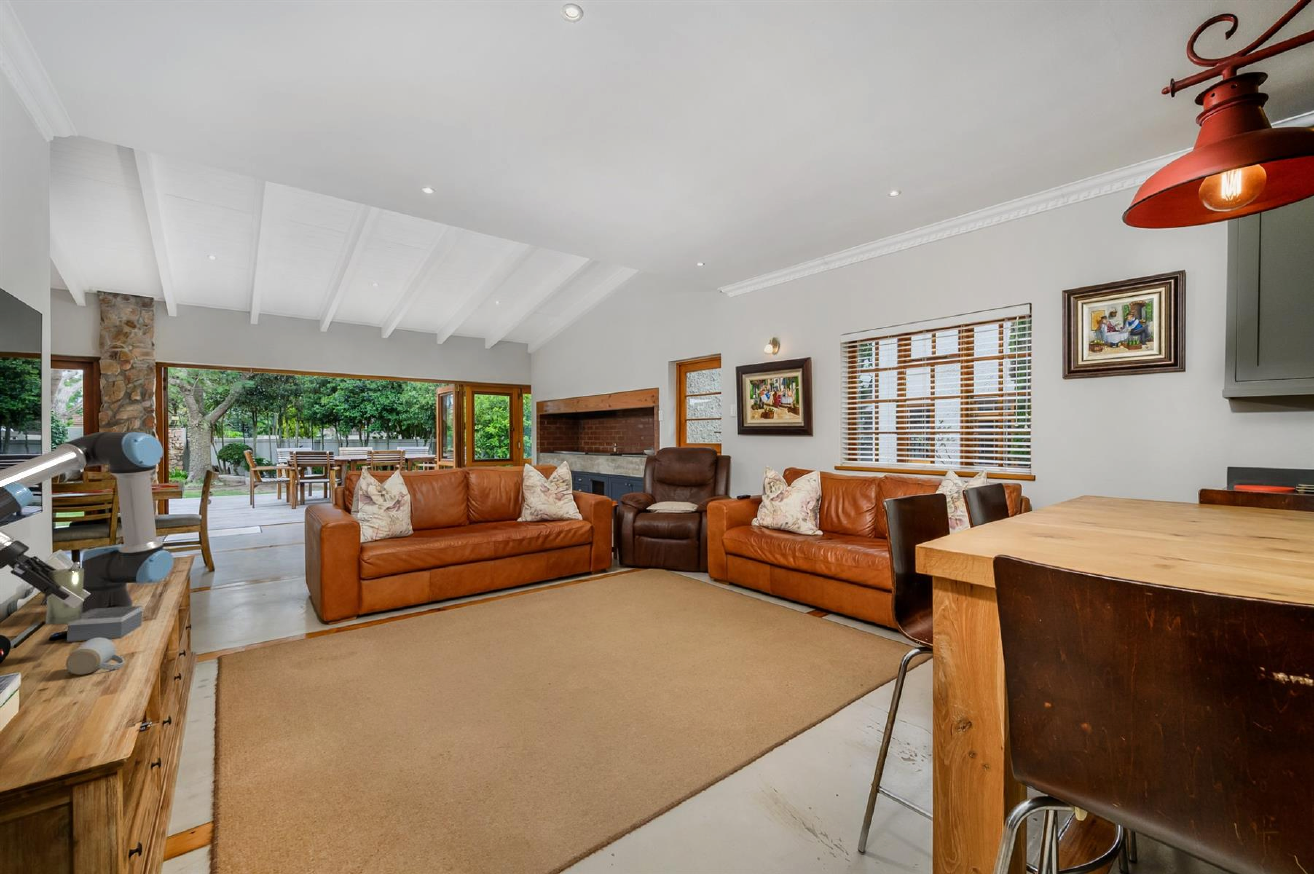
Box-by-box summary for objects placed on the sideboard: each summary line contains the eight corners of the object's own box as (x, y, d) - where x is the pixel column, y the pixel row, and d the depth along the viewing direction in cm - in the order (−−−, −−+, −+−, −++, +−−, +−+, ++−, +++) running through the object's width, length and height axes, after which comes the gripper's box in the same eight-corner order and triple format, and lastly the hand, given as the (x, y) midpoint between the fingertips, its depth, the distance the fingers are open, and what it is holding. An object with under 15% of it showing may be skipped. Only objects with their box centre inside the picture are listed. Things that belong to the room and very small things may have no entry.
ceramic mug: (61, 678, 144) (64, 648, 144) (78, 666, 151) (80, 638, 151) (115, 673, 148) (117, 644, 148) (129, 662, 155) (131, 634, 156)
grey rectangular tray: (96, 625, 183) (97, 606, 183) (145, 622, 188) (146, 603, 188) (66, 641, 168) (67, 620, 168) (120, 637, 173) (121, 617, 173)
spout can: (39, 625, 154) (42, 565, 154) (56, 617, 160) (58, 560, 161) (72, 622, 156) (75, 564, 157) (87, 615, 163) (89, 559, 163)
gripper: (-2, 553, 157) (77, 602, 167) (-30, 568, 141) (59, 621, 151) (27, 533, 161) (103, 582, 170) (2, 545, 145) (88, 598, 154)
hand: (82, 600), depth 161 cm, fingers closed on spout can, 7 cm apart
